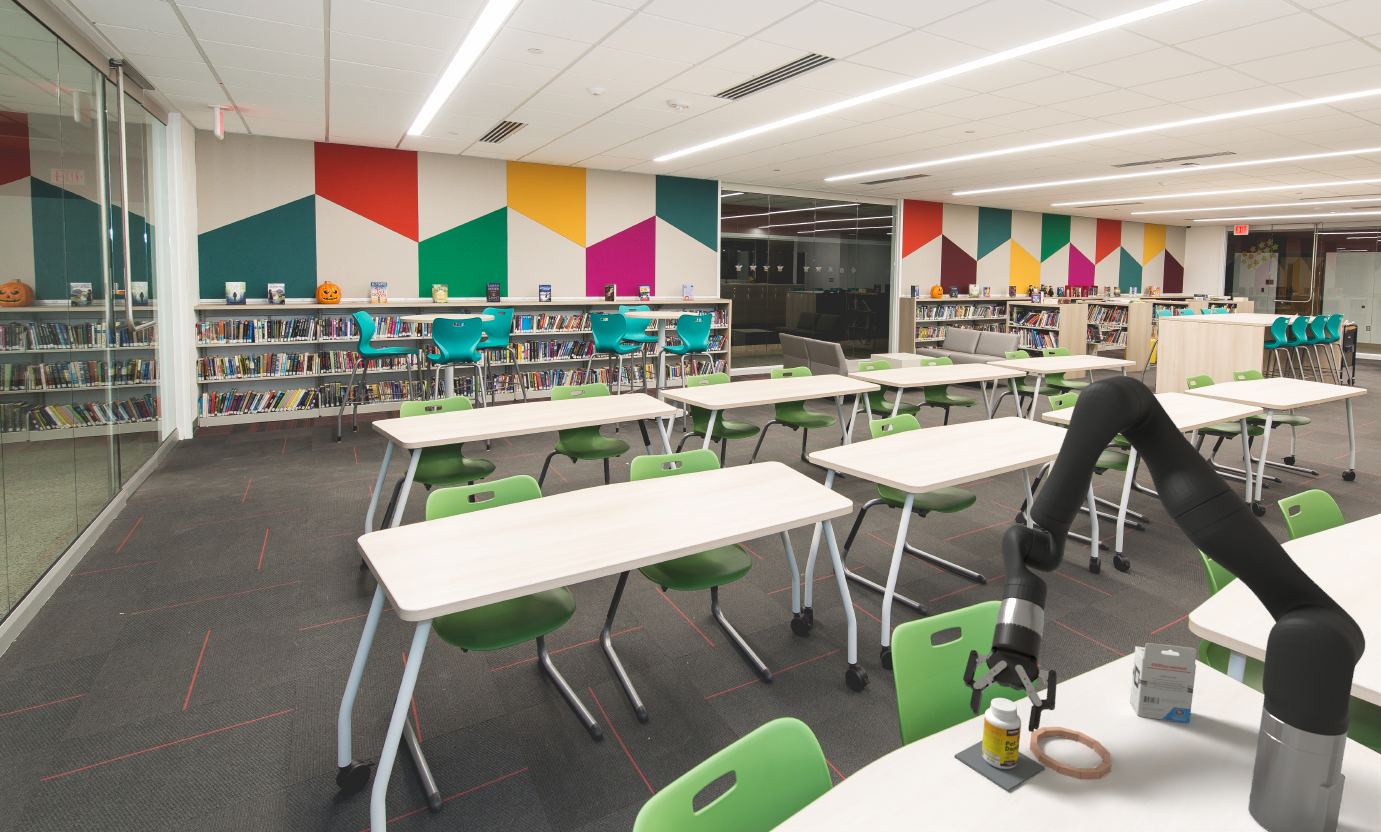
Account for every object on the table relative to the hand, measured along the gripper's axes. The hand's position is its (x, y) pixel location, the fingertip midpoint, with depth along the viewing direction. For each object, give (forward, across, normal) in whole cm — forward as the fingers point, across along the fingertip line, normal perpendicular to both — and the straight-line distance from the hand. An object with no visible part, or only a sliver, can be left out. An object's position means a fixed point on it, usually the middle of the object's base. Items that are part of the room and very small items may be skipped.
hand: (1002, 722), depth 116 cm
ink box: (-16, +23, +27) cm, 39 cm away
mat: (+6, 0, +4) cm, 7 cm away
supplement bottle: (+5, 0, +4) cm, 7 cm away
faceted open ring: (-1, +10, +10) cm, 14 cm away
